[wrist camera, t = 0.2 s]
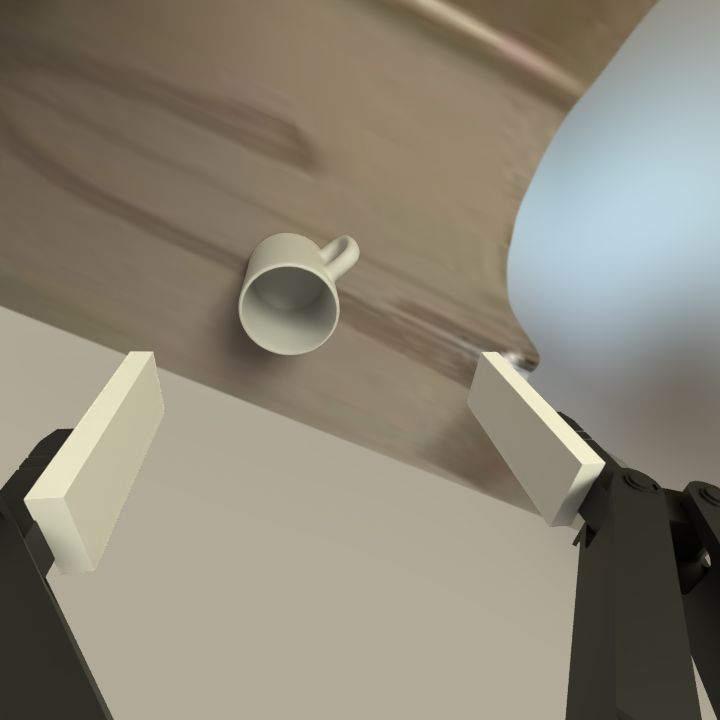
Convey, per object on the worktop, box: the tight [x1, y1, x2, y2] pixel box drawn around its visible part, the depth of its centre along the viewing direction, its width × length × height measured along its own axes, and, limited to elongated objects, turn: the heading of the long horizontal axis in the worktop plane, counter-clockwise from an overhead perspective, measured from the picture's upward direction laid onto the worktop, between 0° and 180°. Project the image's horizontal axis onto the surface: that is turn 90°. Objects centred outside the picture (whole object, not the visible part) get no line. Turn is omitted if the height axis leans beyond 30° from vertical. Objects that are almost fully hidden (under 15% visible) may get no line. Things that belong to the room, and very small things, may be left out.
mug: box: [238, 233, 360, 355], centre depth 36 cm, size 12×8×11 cm
